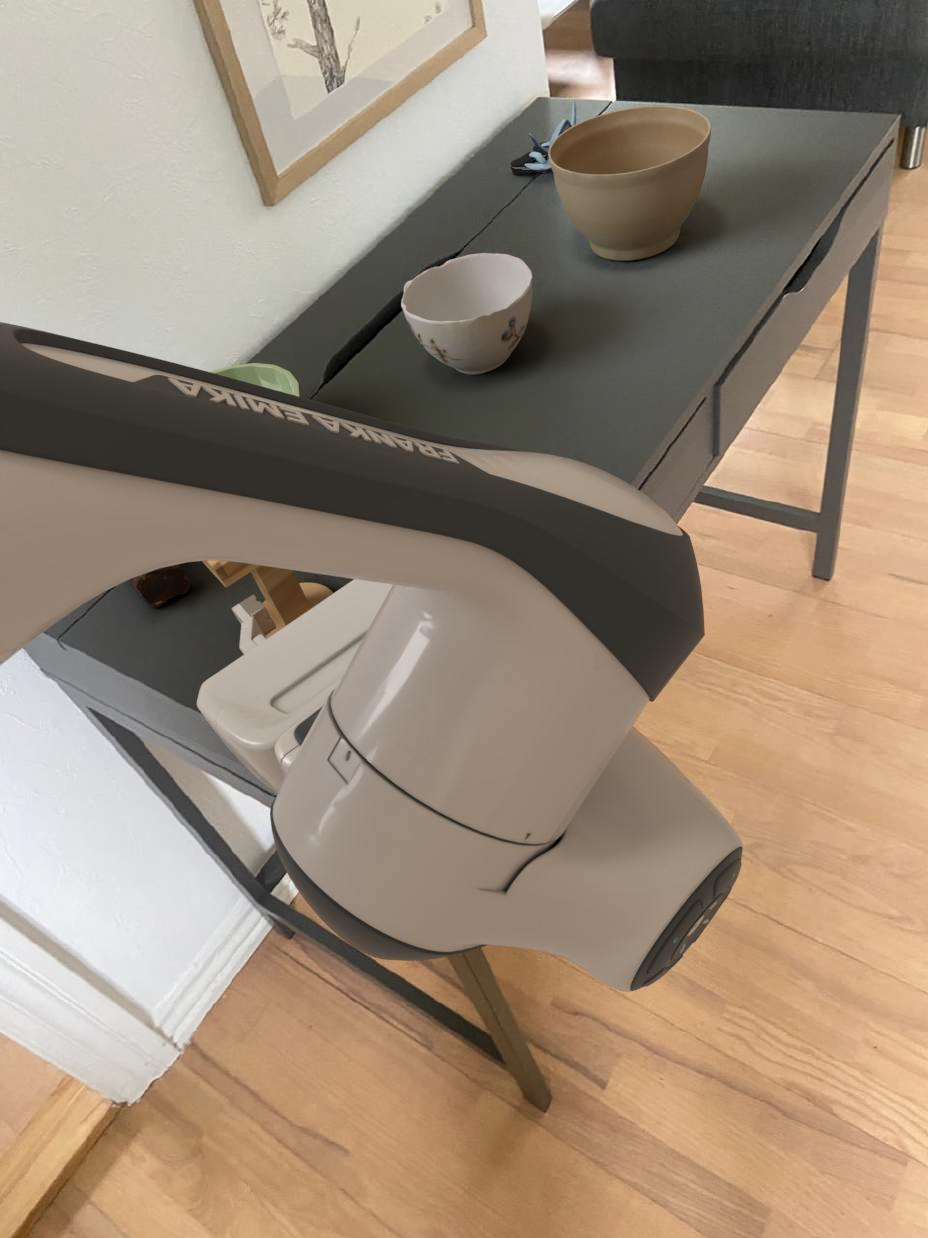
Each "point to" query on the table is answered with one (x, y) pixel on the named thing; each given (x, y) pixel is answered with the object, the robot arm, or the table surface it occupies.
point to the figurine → (542, 150)
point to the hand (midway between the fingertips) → (314, 563)
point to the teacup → (470, 310)
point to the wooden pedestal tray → (274, 589)
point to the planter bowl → (632, 177)
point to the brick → (161, 585)
